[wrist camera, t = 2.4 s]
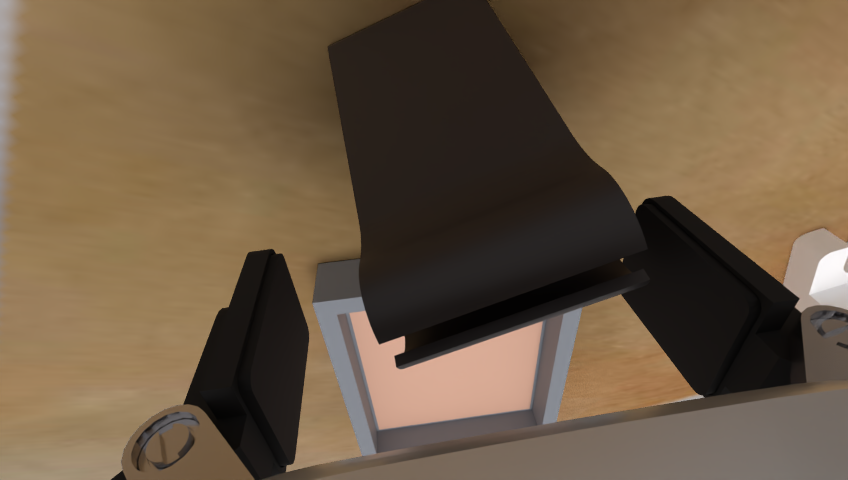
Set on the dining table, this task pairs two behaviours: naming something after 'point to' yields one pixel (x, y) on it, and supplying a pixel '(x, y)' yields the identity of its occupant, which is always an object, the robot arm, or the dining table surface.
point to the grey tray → (438, 374)
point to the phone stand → (470, 185)
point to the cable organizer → (818, 270)
